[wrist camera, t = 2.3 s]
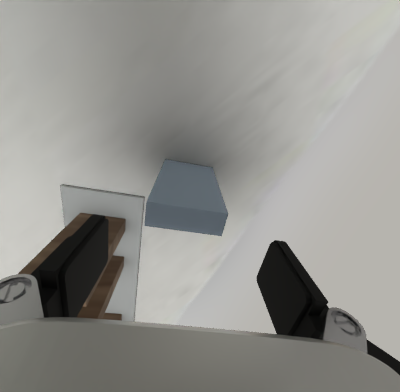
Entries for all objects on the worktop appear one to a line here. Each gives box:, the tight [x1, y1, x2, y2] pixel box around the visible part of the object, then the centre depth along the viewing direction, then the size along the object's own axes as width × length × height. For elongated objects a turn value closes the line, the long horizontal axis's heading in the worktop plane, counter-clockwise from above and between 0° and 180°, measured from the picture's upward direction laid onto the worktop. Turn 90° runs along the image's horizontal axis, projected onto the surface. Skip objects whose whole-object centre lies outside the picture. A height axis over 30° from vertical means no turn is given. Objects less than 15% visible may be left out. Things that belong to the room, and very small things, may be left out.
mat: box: [60, 185, 144, 322], centre depth 29 cm, size 32×9×1 cm, turn 169°
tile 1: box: [18, 213, 126, 307], centre depth 19 cm, size 2×5×10 cm, turn 79°
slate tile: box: [145, 159, 228, 236], centre depth 17 cm, size 2×5×10 cm, turn 79°
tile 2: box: [76, 255, 124, 319], centre depth 21 cm, size 2×5×10 cm, turn 79°
